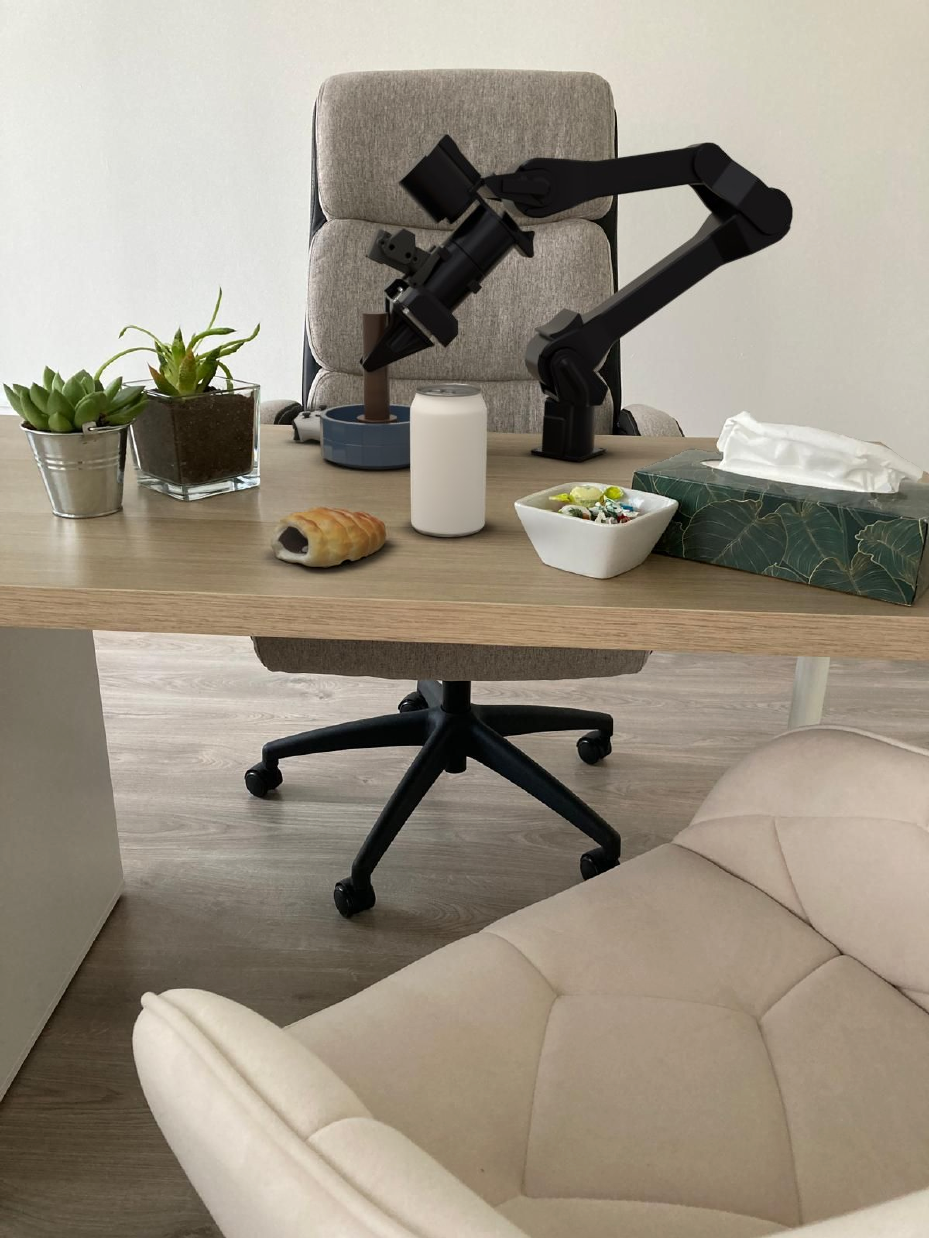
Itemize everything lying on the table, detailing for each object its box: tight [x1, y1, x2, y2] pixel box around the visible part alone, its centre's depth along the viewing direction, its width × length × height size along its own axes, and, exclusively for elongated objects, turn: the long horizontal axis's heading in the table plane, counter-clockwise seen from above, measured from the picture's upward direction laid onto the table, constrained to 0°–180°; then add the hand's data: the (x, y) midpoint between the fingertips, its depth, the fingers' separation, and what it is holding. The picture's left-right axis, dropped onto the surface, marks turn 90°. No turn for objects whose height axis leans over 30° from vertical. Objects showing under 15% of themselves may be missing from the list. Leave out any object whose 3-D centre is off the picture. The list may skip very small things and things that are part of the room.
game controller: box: [291, 404, 328, 443], centre depth 123 cm, size 10×5×6 cm
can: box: [409, 382, 488, 538], centre depth 87 cm, size 6×6×12 cm
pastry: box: [270, 506, 387, 568], centre depth 82 cm, size 9×7×4 cm
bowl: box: [319, 403, 411, 470], centre depth 113 cm, size 12×12×5 cm
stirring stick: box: [357, 310, 397, 424], centre depth 110 cm, size 4×4×12 cm
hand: (363, 367), depth 110 cm, fingers closed on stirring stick, 3 cm apart
